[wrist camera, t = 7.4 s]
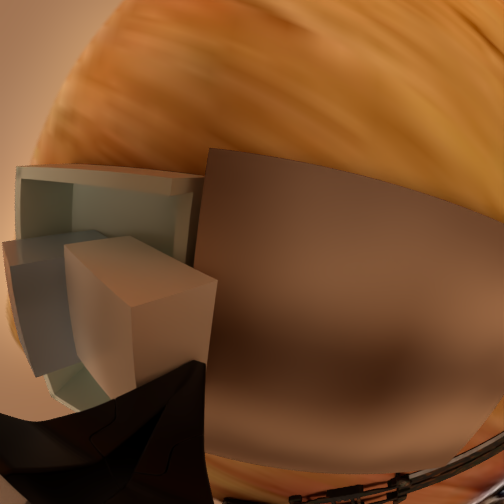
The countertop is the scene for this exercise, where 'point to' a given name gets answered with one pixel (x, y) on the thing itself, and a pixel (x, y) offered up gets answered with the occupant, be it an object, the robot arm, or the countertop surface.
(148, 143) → the countertop surface
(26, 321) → the grey block
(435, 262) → the board
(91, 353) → the cream block
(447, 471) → the knife
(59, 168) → the tray
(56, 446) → the robot arm
